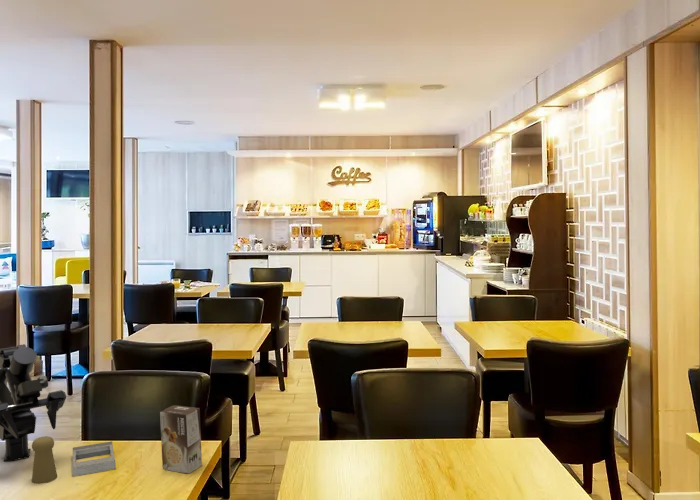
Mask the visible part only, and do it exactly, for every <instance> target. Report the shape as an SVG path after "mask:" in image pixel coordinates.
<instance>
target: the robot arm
mask: <svg viewBox="0 0 700 500" xmlns="http://www.w3.org/2000/svg"><path fill="white" fill-rule="evenodd" d="M37 354H38V353H37V352H36V351H35V349H32V348H30V347H27V345H26V344H25V343H24V344H18V345H16V346H10V347H6V348H5V347H4V348H0V440H1V441H2V442H3V441H5V453H4V457H3V462H10V461H15V460H21V459H27V458H30V455H31V451H32V448H29V436H28V435H30V434H31V435H32V434H35V431H36V423H37V416H36V415H35V413H34V412H33V411H32V409H36V408H41V407H45V408H46V410H47V412H46V413H47V416H48V420H49V422H50V426H51V428H52V429H53V430H56V427H57V425H56V423H57V413H58V412H59V410H60V409H61V408H63V406H64V404H65V401H66V399H67V395H66V392H65V391H64V390H62V389H61V390H56V391H51V392H48V395H47V397H45V398H41V399H39V398H40V397H41V392H42V391H43V389H46V388H47V387H49V381H48V378H47V376H46V375H42V376H38V378H37V379H34V380H33V379H32V376H31V374H30V373H31V372H32V371H33V369H34V365H35V363H36V360H37V356H38V355H37Z"/></svg>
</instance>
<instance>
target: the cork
mask: <svg viewBox="0 0 700 500" xmlns="http://www.w3.org/2000/svg"><path fill="white" fill-rule="evenodd" d="M54 446H55V440H54V438H53V437H51V436H50V435H49V436H48V435H47V436H40V437H37V438H36V439H34V440H33V442H32V444H31V450H32V451H33V452H34V455H33V456H34V457H33V466H32V473H31V474H32V476H31V483H33V484H36V485H43V484H47V483H50V482H53V481H55V480H57V478H58V472H57V467H56V463H55V462H56V461H55V456H54V451H53V448H54Z"/></svg>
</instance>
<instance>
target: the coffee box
mask: <svg viewBox="0 0 700 500" xmlns="http://www.w3.org/2000/svg"><path fill="white" fill-rule="evenodd" d="M159 417H160V418H159V419H160V421H159V422H160V439H161V440H160V441H161V445H160V446H161V461H162V462H161V463H162V465H161V466H162V470H164V471H165V470H166V471H171V472H178V473H184V474H190V473H192V472H195V470H197V469H198V468H200V467H202V466H203V459H202V458H203V456H202V455H203V454H202V435H201V433H202V432H201V429H202V428H201V411H200V407H193V406H183V405H176V404H175V405H171V406H168V407H167V408H164V410H161V411H159Z"/></svg>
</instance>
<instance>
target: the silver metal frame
mask: <svg viewBox="0 0 700 500" xmlns="http://www.w3.org/2000/svg"><path fill="white" fill-rule="evenodd" d="M103 455H110V456H107V457H106V456H105V457H101V458H96V459H89V460H83V461H77V460H79V459H80V460H81V459H87V458H92V457H99V456H103ZM71 456H72V459H71V460H72V463H71V466H72V468H71V470H72V477H77V476H83V475H88V474H89V475H90V474H93V473H100V472H107V471H110V470H111V471H112V470H116V458H115V452H114V444H113V441H106V442H100V443H94V444H87V445H82V446H76V447H75V446H74V447H72V455H71Z"/></svg>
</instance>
